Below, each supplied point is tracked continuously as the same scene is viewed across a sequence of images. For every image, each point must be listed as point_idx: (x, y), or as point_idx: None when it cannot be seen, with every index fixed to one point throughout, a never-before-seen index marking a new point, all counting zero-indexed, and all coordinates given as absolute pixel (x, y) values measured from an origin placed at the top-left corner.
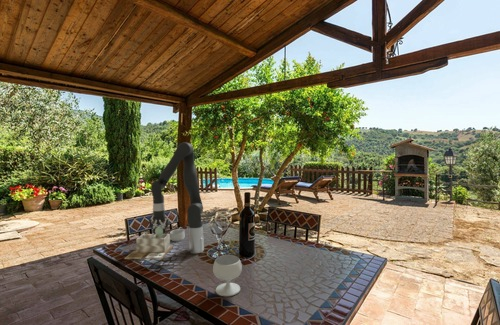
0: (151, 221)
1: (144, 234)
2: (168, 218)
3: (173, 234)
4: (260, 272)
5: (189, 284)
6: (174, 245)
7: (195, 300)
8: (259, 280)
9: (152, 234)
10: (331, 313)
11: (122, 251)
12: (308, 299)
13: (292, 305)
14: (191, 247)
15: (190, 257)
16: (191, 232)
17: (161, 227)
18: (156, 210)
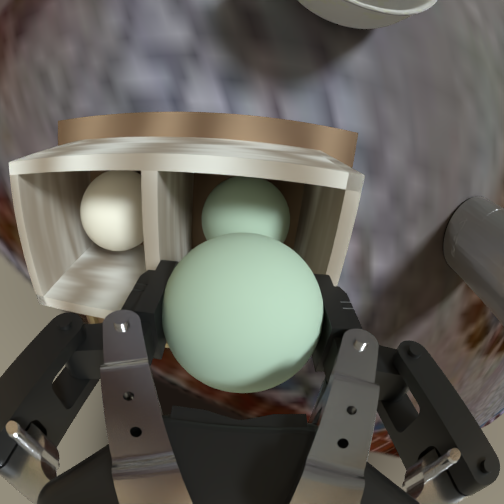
0: (56, 461)
1: (24, 169)
2: (479, 489)
3: (344, 2)
4: None
5: (384, 430)
6: (355, 132)
7: (382, 450)
8: (492, 391)
9: (105, 168)
10: (491, 420)
11: (9, 188)
12: (497, 409)
13: (477, 422)
14: (466, 283)
15: (432, 308)
16: None
17: (287, 375)
18: None
